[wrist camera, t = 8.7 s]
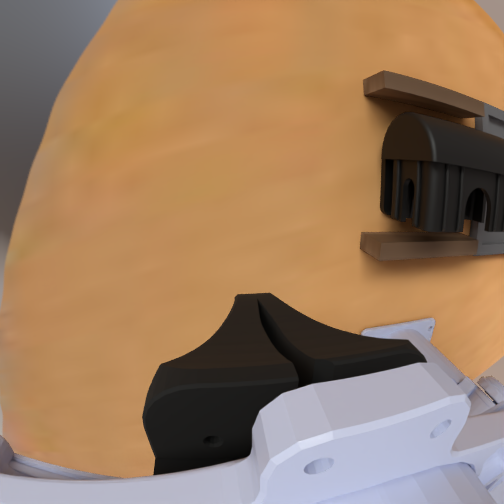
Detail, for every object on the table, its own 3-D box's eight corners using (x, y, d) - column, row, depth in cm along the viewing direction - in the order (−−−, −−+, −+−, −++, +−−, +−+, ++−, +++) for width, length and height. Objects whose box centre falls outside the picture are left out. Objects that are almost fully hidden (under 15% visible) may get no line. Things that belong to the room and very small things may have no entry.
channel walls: (454, 244, 23) (476, 254, 20) (359, 248, 22) (379, 260, 19) (460, 105, 19) (483, 102, 16) (363, 79, 18) (383, 70, 15)
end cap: (467, 136, 20) (524, 138, 14) (464, 215, 22) (519, 234, 16) (375, 117, 19) (433, 105, 13) (373, 213, 21) (428, 235, 15)
